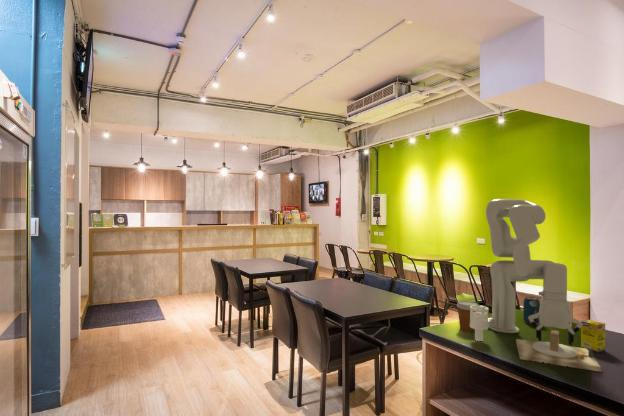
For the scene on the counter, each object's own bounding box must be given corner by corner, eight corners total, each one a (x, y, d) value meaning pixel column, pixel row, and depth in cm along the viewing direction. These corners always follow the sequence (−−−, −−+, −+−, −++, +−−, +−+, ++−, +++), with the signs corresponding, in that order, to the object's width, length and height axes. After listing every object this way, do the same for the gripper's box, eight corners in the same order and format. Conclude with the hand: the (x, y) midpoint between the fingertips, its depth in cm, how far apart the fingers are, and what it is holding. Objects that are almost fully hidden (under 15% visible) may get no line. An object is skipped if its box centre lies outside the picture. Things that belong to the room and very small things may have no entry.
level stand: (520, 359, 137) (520, 346, 137) (516, 342, 155) (516, 331, 155) (601, 371, 127) (601, 358, 127) (586, 352, 145) (586, 340, 145)
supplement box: (597, 353, 145) (597, 324, 145) (580, 348, 150) (580, 320, 150) (605, 351, 147) (605, 323, 147) (588, 346, 153) (588, 319, 153)
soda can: (539, 325, 181) (539, 300, 181) (522, 322, 185) (523, 298, 185) (539, 322, 187) (540, 297, 187) (523, 319, 191) (524, 295, 191)
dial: (582, 362, 131) (582, 343, 131) (530, 352, 140) (530, 334, 140) (582, 351, 142) (582, 333, 142) (534, 342, 151) (534, 325, 151)
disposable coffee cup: (453, 326, 177) (453, 300, 178) (473, 326, 177) (474, 301, 177) (460, 332, 168) (461, 305, 168) (482, 333, 168) (482, 305, 168)
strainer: (474, 343, 153) (474, 306, 153) (466, 337, 160) (467, 302, 160) (491, 343, 153) (491, 306, 154) (483, 338, 160) (483, 302, 161)
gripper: (529, 295, 142) (529, 341, 142) (585, 300, 135) (584, 349, 134) (527, 292, 149) (527, 335, 148) (580, 296, 141) (580, 342, 141)
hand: (554, 342), depth 141 cm, fingers open, 9 cm apart
